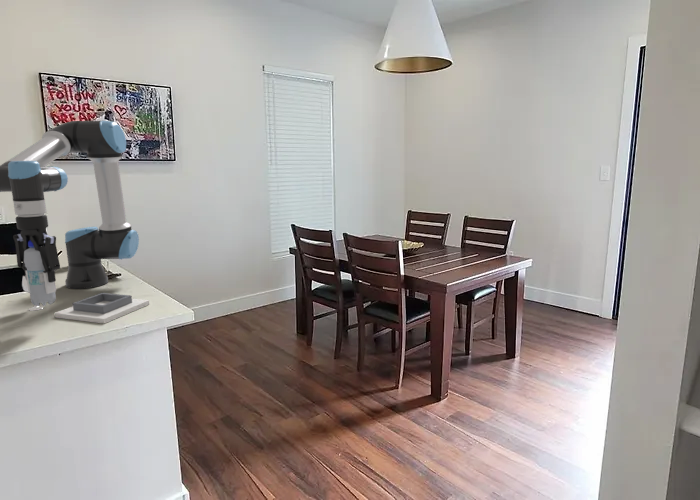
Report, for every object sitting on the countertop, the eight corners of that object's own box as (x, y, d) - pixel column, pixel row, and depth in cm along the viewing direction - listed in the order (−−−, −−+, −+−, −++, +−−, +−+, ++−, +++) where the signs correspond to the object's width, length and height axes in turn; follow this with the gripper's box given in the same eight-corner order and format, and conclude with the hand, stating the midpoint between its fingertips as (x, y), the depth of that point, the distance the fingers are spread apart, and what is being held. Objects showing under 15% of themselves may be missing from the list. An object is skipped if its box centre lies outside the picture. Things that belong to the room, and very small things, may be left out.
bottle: (44, 308, 133) (34, 241, 129) (25, 306, 134) (14, 240, 130) (62, 301, 139) (53, 237, 135) (44, 299, 141) (34, 236, 136)
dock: (103, 299, 166) (102, 288, 165) (149, 304, 160) (148, 293, 160) (54, 317, 147) (53, 305, 146) (104, 323, 141) (103, 311, 141)
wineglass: (28, 307, 157) (23, 273, 155) (47, 305, 159) (43, 272, 157) (23, 312, 152) (18, 277, 150) (44, 310, 154) (39, 275, 152)
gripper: (-7, 215, 130) (6, 292, 135) (44, 218, 125) (56, 298, 130) (18, 212, 137) (29, 285, 142) (68, 214, 132) (78, 290, 137)
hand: (42, 291), depth 136 cm, fingers closed on bottle, 6 cm apart
